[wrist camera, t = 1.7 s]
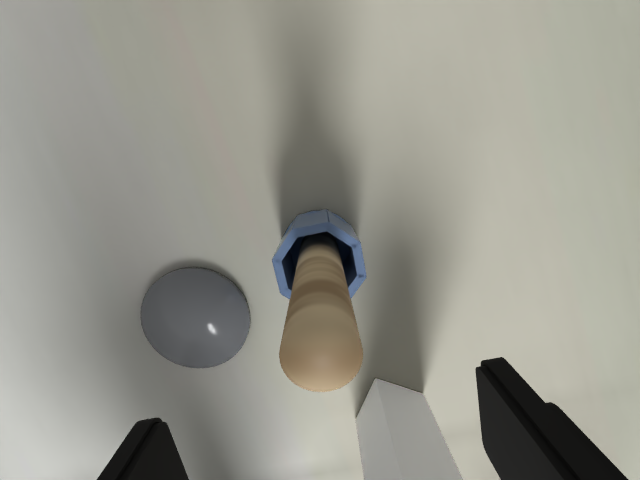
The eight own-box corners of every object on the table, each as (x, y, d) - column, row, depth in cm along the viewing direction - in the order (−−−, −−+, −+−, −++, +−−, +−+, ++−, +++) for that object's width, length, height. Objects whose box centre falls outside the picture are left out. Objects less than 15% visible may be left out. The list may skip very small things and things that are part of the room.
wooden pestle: (340, 261, 32) (369, 383, 14) (304, 268, 32) (289, 398, 14) (333, 226, 31) (355, 310, 13) (297, 234, 31) (270, 326, 14)
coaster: (261, 353, 35) (260, 357, 34) (163, 371, 35) (160, 376, 35) (235, 257, 32) (233, 260, 32) (129, 278, 33) (125, 281, 32)
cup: (361, 272, 33) (372, 301, 26) (291, 286, 33) (285, 318, 26) (348, 203, 31) (356, 214, 24) (275, 218, 32) (263, 233, 25)
